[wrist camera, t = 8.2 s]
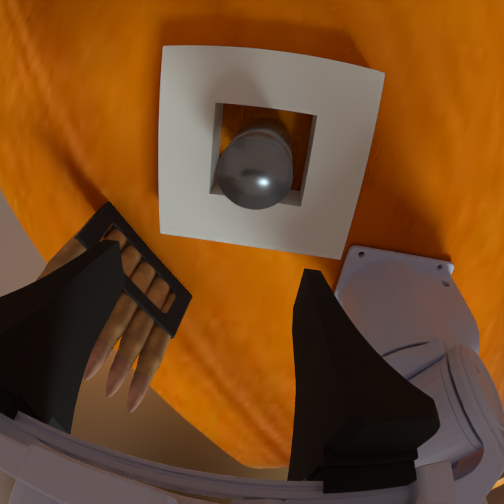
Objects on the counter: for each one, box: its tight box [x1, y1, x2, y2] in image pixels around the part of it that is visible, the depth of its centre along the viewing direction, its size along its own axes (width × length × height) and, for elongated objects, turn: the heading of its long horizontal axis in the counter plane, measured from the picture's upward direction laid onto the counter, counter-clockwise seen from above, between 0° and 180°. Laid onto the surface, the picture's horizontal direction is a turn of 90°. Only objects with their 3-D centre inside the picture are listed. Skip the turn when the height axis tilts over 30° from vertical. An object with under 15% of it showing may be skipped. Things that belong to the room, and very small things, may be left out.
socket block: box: [158, 45, 385, 260], centre depth 18 cm, size 12×12×2 cm
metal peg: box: [217, 118, 293, 210], centre depth 17 cm, size 4×4×6 cm
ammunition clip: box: [37, 202, 192, 413], centre depth 20 cm, size 11×2×12 cm, turn 34°
